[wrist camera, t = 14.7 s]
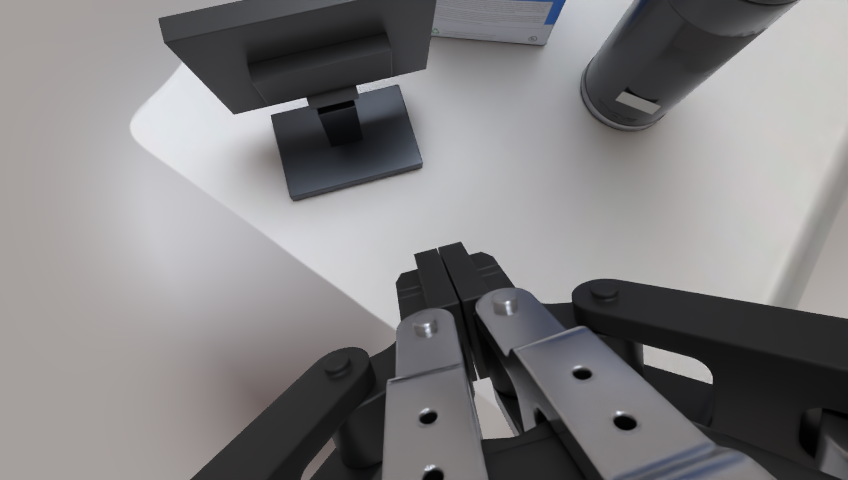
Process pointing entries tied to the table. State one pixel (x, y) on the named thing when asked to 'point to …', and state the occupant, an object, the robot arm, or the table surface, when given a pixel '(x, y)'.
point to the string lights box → (497, 19)
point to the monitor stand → (346, 143)
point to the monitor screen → (299, 47)
